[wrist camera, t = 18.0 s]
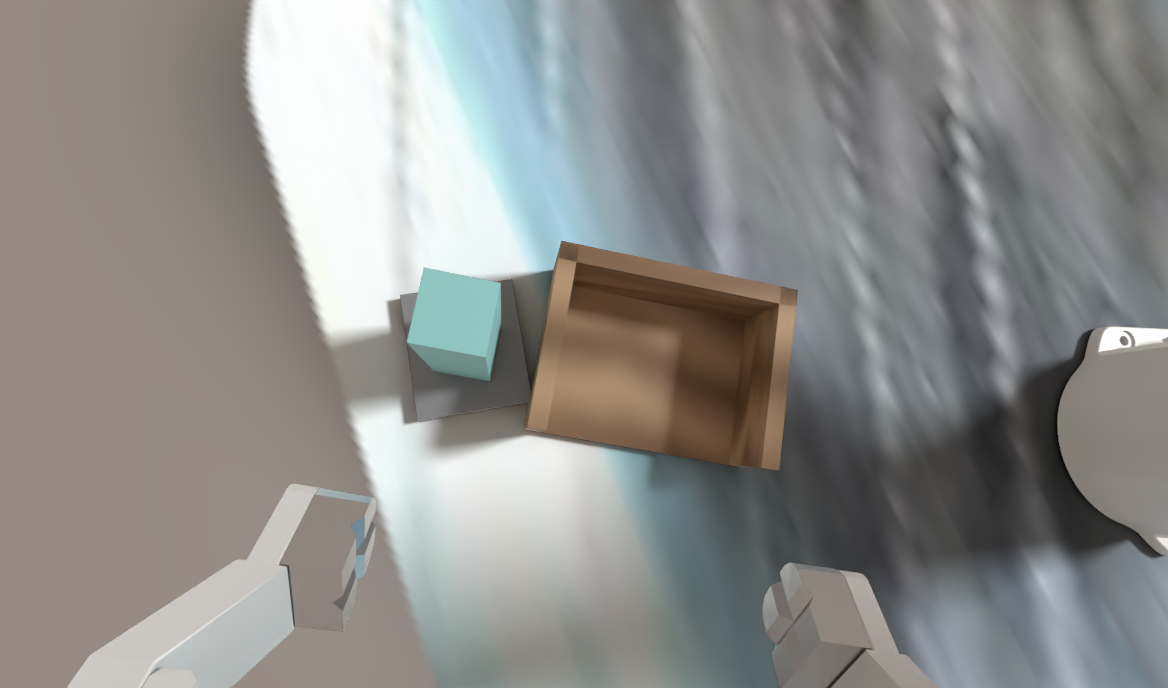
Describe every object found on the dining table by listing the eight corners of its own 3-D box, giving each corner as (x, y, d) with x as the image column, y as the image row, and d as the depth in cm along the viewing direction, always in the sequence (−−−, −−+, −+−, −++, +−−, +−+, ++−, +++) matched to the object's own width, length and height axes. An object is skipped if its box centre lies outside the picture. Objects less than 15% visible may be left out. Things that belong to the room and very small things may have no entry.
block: (490, 381, 42) (485, 357, 30) (433, 371, 42) (406, 342, 30) (501, 327, 43) (500, 283, 31) (445, 316, 42) (423, 267, 31)
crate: (739, 466, 44) (779, 470, 38) (523, 429, 43) (527, 426, 36) (757, 311, 47) (797, 290, 40) (553, 269, 45) (561, 240, 39)
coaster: (511, 283, 44) (511, 279, 43) (531, 401, 43) (532, 400, 42) (402, 298, 43) (400, 295, 42) (419, 421, 42) (417, 420, 41)
